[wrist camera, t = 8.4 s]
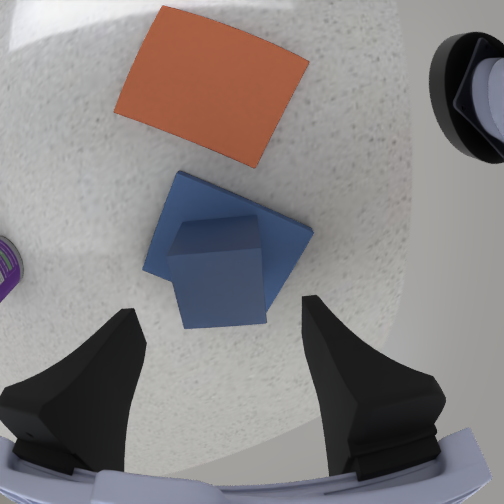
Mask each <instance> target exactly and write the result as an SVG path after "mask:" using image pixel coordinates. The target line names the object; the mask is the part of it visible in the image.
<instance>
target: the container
mask: <svg viewBox="0 0 504 504" xmlns="http://www.w3.org/2000/svg"><path fill="white" fill-rule="evenodd" d="M22 276H23V264H22V260H21V257H20V255H19V253H18V251H17V250H16V248H15V247H14V245H13V244H12V243H11V242H10V241H9V240H7V239H6V238H4V237H2V236H0V303H1V301H2V300H3V299H4V298H5V297H6V296H7V295H8V294H9V293H10V291H11V290H12V289H13V288H14V287H15V286H16V285H17V284H18V283H19V282H20V280H21V279H22Z"/></svg>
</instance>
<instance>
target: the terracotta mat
mask: <svg viewBox="0 0 504 504" xmlns="http://www.w3.org/2000/svg"><path fill="white" fill-rule="evenodd" d="M308 64H309V61H308V60H306V59H304V58H302V57H300V56H298V55H296V54H294V53H292V52H290V51H287V50H285V49H283V48H281V47H279V46H277V45H274V44H272V43H270V42H268V41H265V40H263V39H261V38H258V37H256V36H254V35H251V34H249V33H246V32H244V31H241V30H239V29H236V28H233V27H231V26H228V25H225V24H223V23H220V22H217V21H214V20H211V19H208V18H205V17H202V16H199V15H196V14H192V13H189V12H186V11H182V10H179V9H175V8H171V7H167V6H164V5H163V6H162V7H161V9H160V11H159V13H158V14H157V16H156V18H155V20H154V22H153V24H152V26H151V27H150V29H149V31H148V33H147V35H146V37H145V39H144V41H143V43H142V46H141V48H140V50H139V52H138V54H137V56H136V58H135V61H134V63H133V65H132V67H131V69H130V72H129V74H128V76H127V79H126V81H125V84H124V86H123V89H122V91H121V94H120V96H119V99H118V101H117V104H116V106H115V109H114V113H117V114H119V115H122V116H125V117H128V118H131V119H134V120H136V121H139V122H142V123H145V124H147V125H150V126H153V127H155V128H158V129H161V130H163V131H166V132H169V133H171V134H174V135H176V136H179V137H181V138H184V139H186V140H189V141H191V142H194V143H196V144H199V145H201V146H204V147H206V148H208V149H211V150H213V151H216V152H218V153H220V154H223V155H225V156H227V157H230V158H232V159H234V160H236V161H239V162H241V163H243V164H246V165H248V166H250V167H252V168H256V166H257V164H258V162H259V160H260V158H261V156H262V154H263V152H264V150H265V148H266V146H267V144H268V142H269V140H270V138H271V136H272V134H273V132H274V130H275V128H276V126H277V124H278V122H279V120H280V118H281V116H282V114H283V112H284V110H285V108H286V106H287V104H288V102H289V101H290V99H291V97H292V95H293V93H294V91H295V89H296V87H297V85H298V83H299V81H300V79H301V78H302V76H303V74H304V72H305V70H306V68H307V66H308Z"/></svg>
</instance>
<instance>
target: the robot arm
mask: <svg viewBox="0 0 504 504" xmlns="http://www.w3.org/2000/svg"><path fill="white" fill-rule="evenodd" d="M486 46H487V48H486ZM453 106H454V108H455V109H456V110H457V111H458V112H459V113H460V114H461V115H462V116H463V117H464V118H466V119H467V120H468V121H469V122H470V123H471V124H472V125H473V126H474V127H475V128H476V129H477V130H478V132H479V133H480V134H481V135H482V136H483V137H484V138H485V139H486V140H487V141H488V142H489V143H490V144H491V145H492V146H493V148H494V149H495V150H496V151H497V152H498V153H499V154H500V156H501V157H502V158H503V159H504V58H502V57H501V56H500V55H499V54H498V53H497V52H496V51H495V49H494V48H493V47H492V46H491V45H490V44H489V43H488V42H487V41H486V40H485V39H484V38H479V39H478V41H477V44H476V47H475V49H474V52H473V55H472V57H471V60H470V62H469V65H468V67H467V70H466V72H465V75H464V77H463V79H462V82H461V84H460V87H459V89H458V91H457V93H456V96H455V98H454V100H453ZM462 106H463V110H462ZM302 339H303V345H304V351H305V356H306V359H307V362H308V366H309V369H310V373H311V376H312V379H313V383H314V386H315V389H316V393H317V396H318V401H319V405H320V411H321V417H322V423H323V430H324V437H325V444H326V452H327V460H328V469H329V477H325V478H318V479H312V480H304V481H296V482H288V483H276V484H265V485H242V486H213V485H212V484H208V483H205V482H201V481H197V480H189V479H181V478H168V477H157V476H148V475H140V474H133V473H126V472H124V457H125V441H126V431H127V424H128V417H129V411H130V406H131V402H132V399H133V395H134V392H135V389H136V386H137V382H138V379H139V376H140V373H141V369H142V366H143V363H144V357H145V351H146V345H147V342H146V340H145V337H144V334H143V332H142V329H141V326H140V324H139V321H138V318H137V315H136V312H135V309H134V308H129V309H121V310H120V311H119V312H117V313H116V314H115V315H114V316H113V317H112V318H111V319H110V320H108V321H107V322H106V323H105V324H104V325H103V326H102V327H101V328H100V329H99V330H98V331H97V332H96V333H94V334H93V335H92V336H91V337H90V338H89V339H88V340H86V341H85V342H84V343H83V344H82V345H81V346H80V347H78V348H77V349H76V350H75V351H73V352H72V353H71V354H69V355H68V356H67V357H65V358H64V359H62V360H61V361H59V362H58V363H56V364H55V365H53V366H51V367H50V368H48V369H46V370H45V371H43V372H41V373H39V374H37V375H35V376H33V377H31V378H29V379H26V380H24V381H22V382H19V383H16V384H13V385H11V386H8V387H5V388H4V390H3V392H2V394H1V396H0V420H1V421H2V423H3V424H4V425H5V426H6V427H7V428H8V429H9V430H10V431H11V432H12V433H13V434H14V435H15V436H16V437H17V441H16V443H14V442H13V441H11V440H9V439H7V438H4V437H2V436H0V493H2V494H3V495H4V496H6V497H7V498H9V499H10V500H12V501H14V502H16V503H18V504H460V503H462V502H463V501H465V500H466V499H467V498H469V497H470V496H471V495H473V494H474V493H475V492H477V491H478V490H479V489H481V488H482V487H483V486H484V485H485V484H487V483H488V482H489V481H490V480H492V475H491V472H490V470H489V468H488V465H487V463H486V461H485V459H484V456H483V454H482V452H481V450H480V448H479V445H478V443H477V441H476V439H475V437H474V435H473V433H472V431H471V429H470V428H466V429H463V430H460V431H458V432H456V433H453V434H450V435H448V436H446V437H444V438H442V439H441V440H439V441H438V442H437V439H436V437H435V435H436V434H437V429H436V427H435V425H434V423H435V422H436V420H437V418H438V416H439V415H440V413H441V412H442V410H443V408H444V405H445V403H446V397H445V395H444V394H443V391H442V389H441V388H440V386H439V384H438V383H437V381H436V380H435V378H434V377H433V376H431V375H428V374H425V373H422V372H419V371H416V370H414V369H411V368H409V367H407V366H404V365H402V364H400V363H398V362H396V361H394V360H392V359H390V358H388V357H387V356H385V355H383V354H382V353H380V352H378V351H377V350H375V349H374V348H372V347H371V346H369V345H368V344H367V343H365V342H364V341H362V340H361V339H360V338H359V337H357V336H356V335H355V334H354V333H353V332H352V331H351V330H349V329H348V328H347V327H346V326H345V325H344V324H343V323H342V322H341V321H340V320H339V319H338V318H337V317H336V316H335V315H334V314H333V313H332V312H331V310H330V309H329V308H328V307H327V306H326V305H325V304H324V303H323V301H322V300H321V299H320V298H319V297H318V296H317V295H311V296H302Z"/></svg>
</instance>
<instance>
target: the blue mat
mask: <svg viewBox="0 0 504 504" xmlns="http://www.w3.org/2000/svg"><path fill="white" fill-rule="evenodd" d="M250 215H257V220H258V227H259V235H260V243H261V252H262V265H263V278H264V291H265V304H266V312H267V311H268V309H269V307H270V306H271V304H272V303H273V301H274V299H275V298H276V296H277V294H278V293H279V291H280V290H281V288H282V286H283V285H284V283H285V281H286V280H287V278H288V276H289V275H290V273H291V271H292V270H293V268H294V266H295V265H296V263H297V261H298V260H299V258H300V256H301V255H302V253H303V251H304V249H305V248H306V246H307V244H308V243H309V241H310V239H311V237H312V236H313V234H314V232H313V230H312V228H310V227H308V226H306V225H304V224H302V223H299V222H297V221H295V220H293V219H291V218H289V217H286V216H284V215H282V214H280V213H278V212H275V211H273V210H271V209H269V208H266V207H264V206H262V205H260V204H257V203H255V202H253V201H251V200H248V199H246V198H244V197H241V196H239V195H237V194H234V193H232V192H230V191H227V190H225V189H223V188H220V187H218V186H216V185H213V184H211V183H209V182H206V181H204V180H201V179H199V178H197V177H194V176H192V175H189V174H187V173H184V172H182V171H178V173H177V174H176V176H175V179H174V181H173V184H172V186H171V189H170V192H169V194H168V197H167V199H166V202H165V205H164V208H163V210H162V213H161V216H160V219H159V221H158V224H157V227H156V230H155V233H154V236H153V239H152V241H151V244H150V247H149V250H148V253H147V257H146V260H145V263H144V266H143V270H144V271H146V272H148V273H151V274H153V275H156V276H158V277H161V278H163V279H166V280H168V281H171V282H172V279H171V274H170V270H169V266H168V262H167V257H166V256H167V254H168V251H169V249H170V247H171V245H172V243H173V241H174V239H175V236H176V234H177V232H178V230H179V228H180V226H181V224H182V222H188V221H198V220H208V219H218V218H228V217H239V216H250Z"/></svg>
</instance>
